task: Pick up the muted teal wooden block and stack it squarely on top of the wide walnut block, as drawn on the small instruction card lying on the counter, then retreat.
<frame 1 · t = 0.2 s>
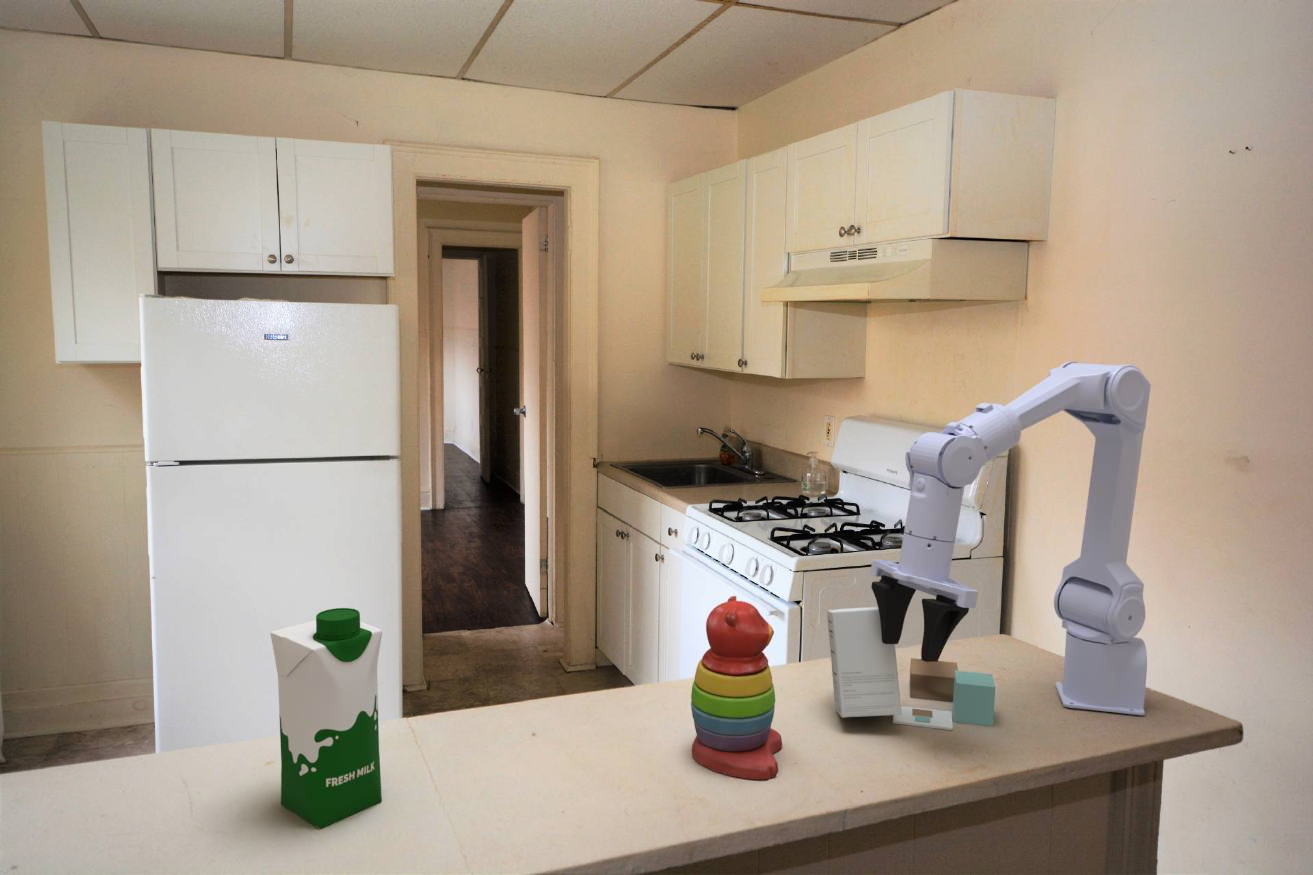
hand: (909, 651, 109), 11 cm above the counter, tool pointing down, fingers open, 6 cm apart
stacking bear: (734, 757, 106), on the counter
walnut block: (933, 693, 126), on the counter
instruction page: (922, 718, 117), on the counter
teal block: (972, 717, 118), on the counter
supplement box: (867, 714, 115), point 1 cm above the counter, touching gripper
milk carton: (331, 804, 95), on the counter
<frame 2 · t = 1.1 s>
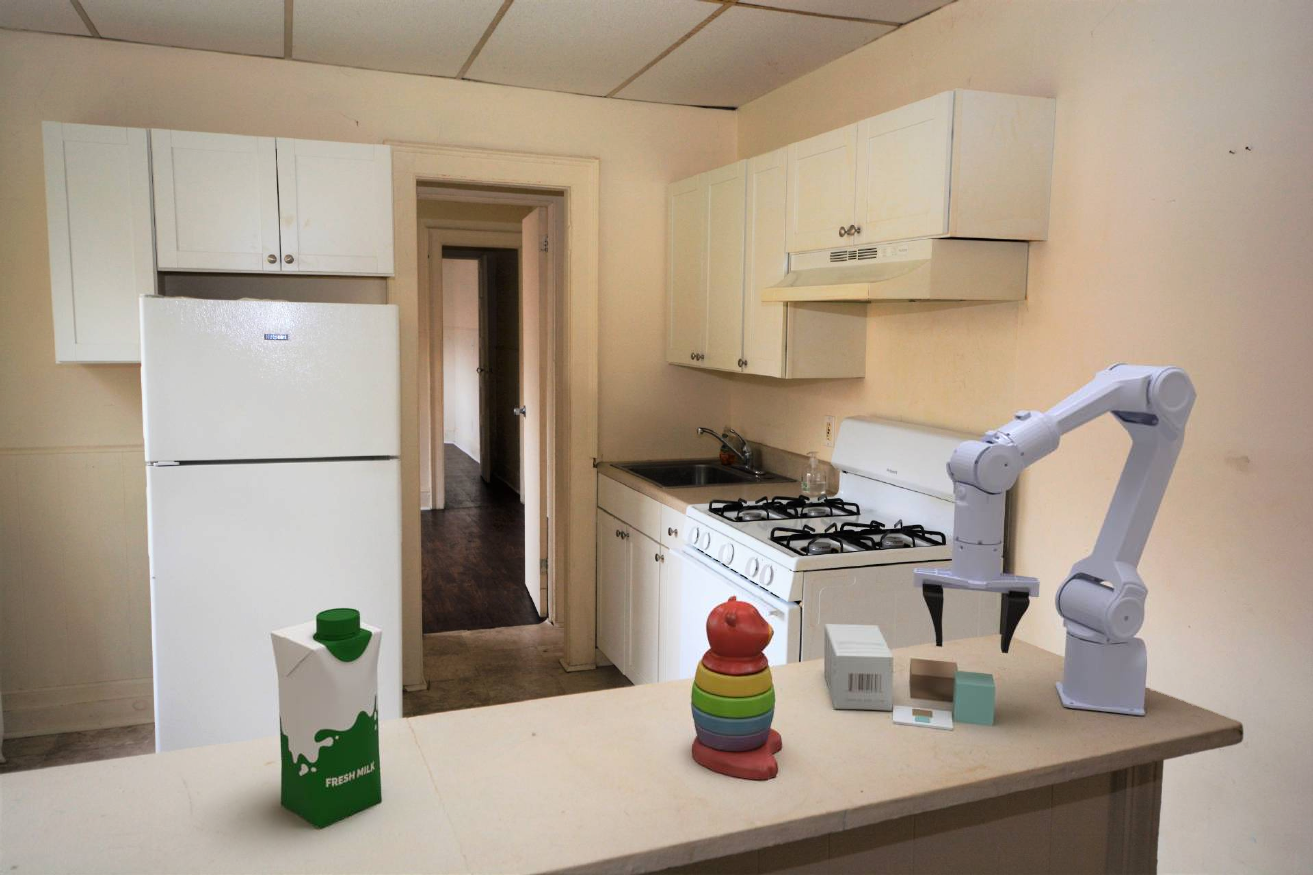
hand: (971, 647, 117), 9 cm above the counter, tool pointing down, fingers open, 7 cm apart
supplement box: (863, 684, 118), point 4 cm above the counter
everything else where it was.
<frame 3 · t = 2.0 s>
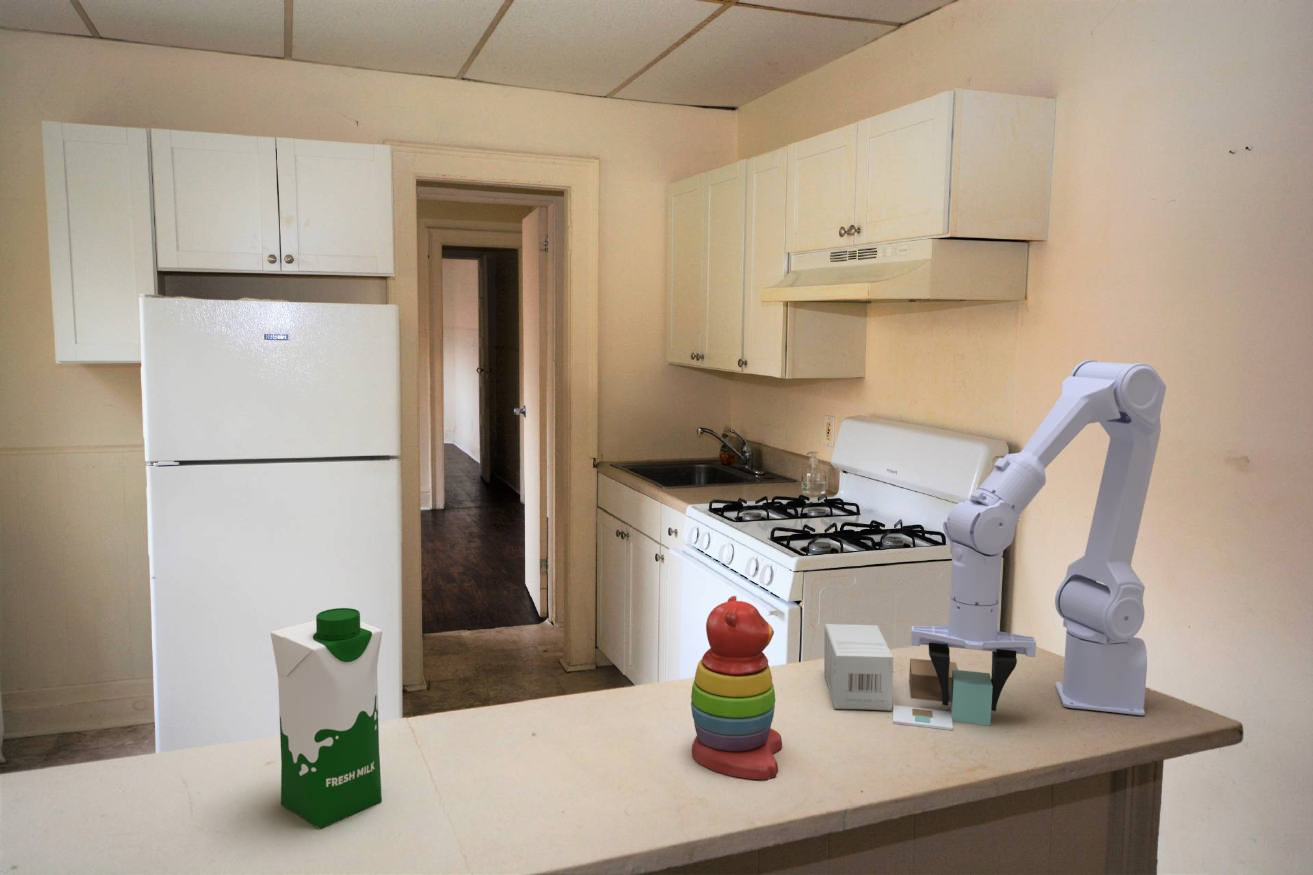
hand: (968, 705, 118), 1 cm above the counter, tool pointing down, fingers open, 5 cm apart
teal block: (969, 716, 118), on the counter, touching gripper, instruction page
everything else where it was.
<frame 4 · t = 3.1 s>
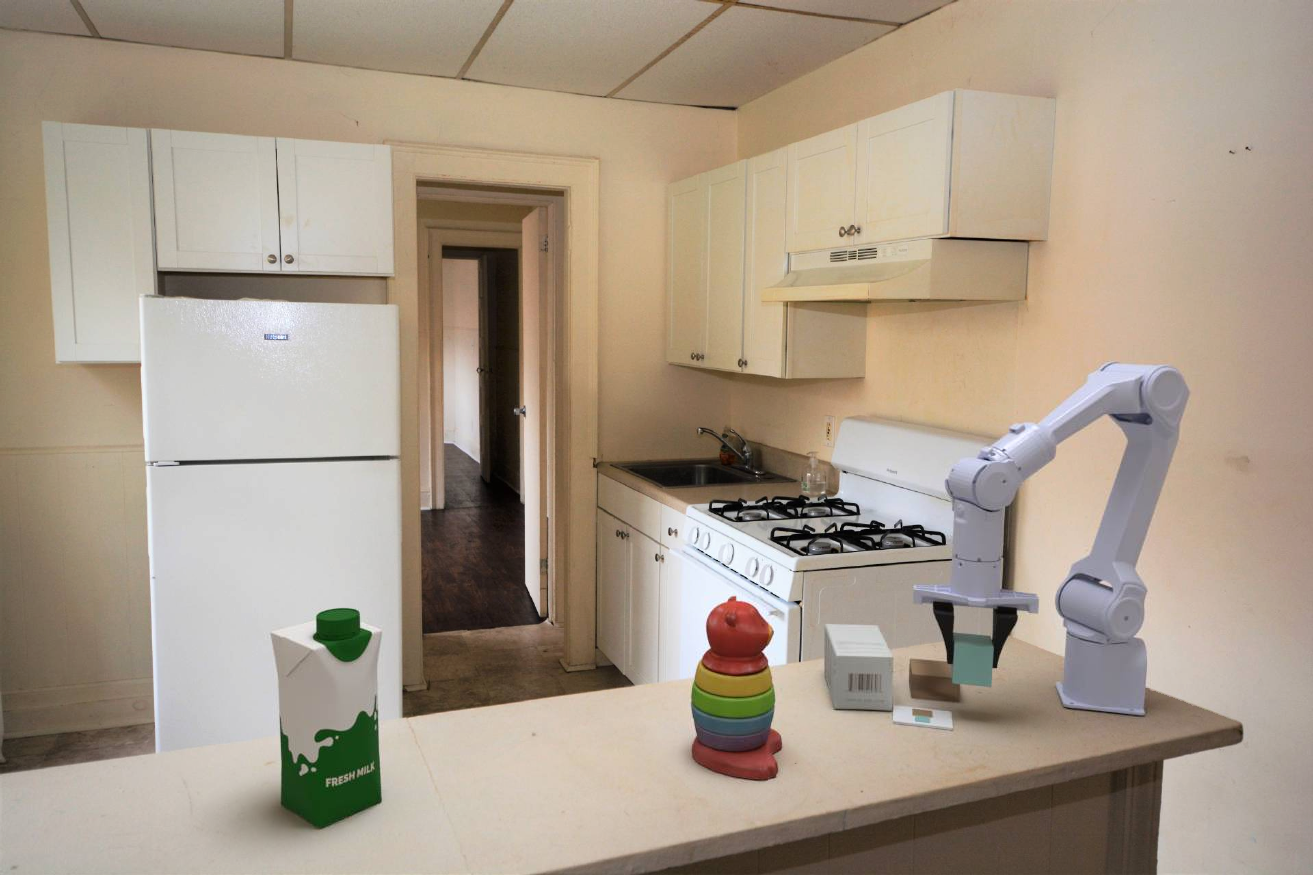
hand: (971, 663, 117), 7 cm above the counter, tool pointing down, fingers closed on teal block, 4 cm apart
teal block: (970, 678, 117), point 5 cm above the counter, touching gripper
everything else where it was.
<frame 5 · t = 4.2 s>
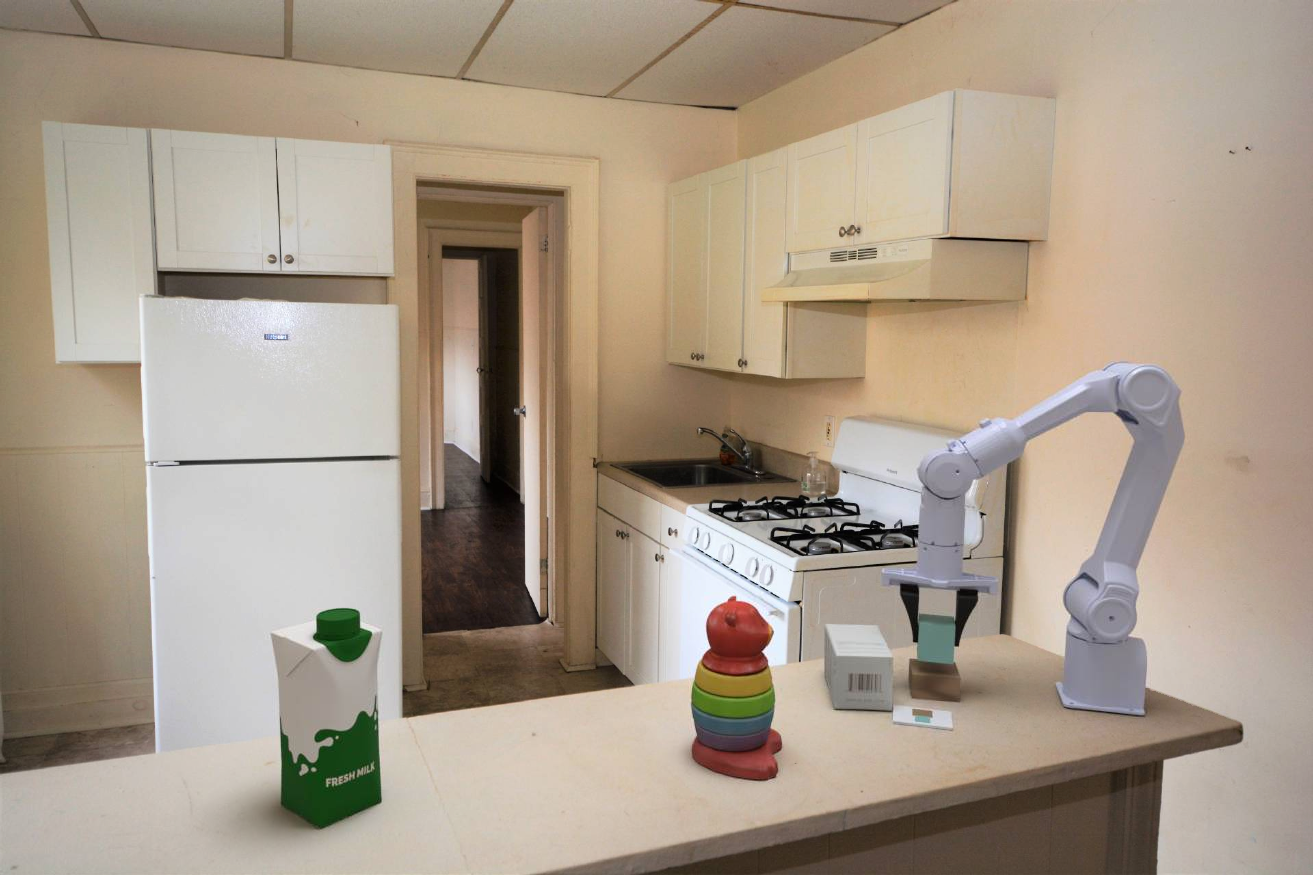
hand: (935, 642, 125), 7 cm above the counter, tool pointing down, fingers closed on teal block, 4 cm apart
teal block: (934, 656, 125), point 5 cm above the counter, touching gripper
everything else where it was.
when the fingers open (6 cm above the counter, at t = 4.8 s): teal block stays where it is, resting on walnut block.
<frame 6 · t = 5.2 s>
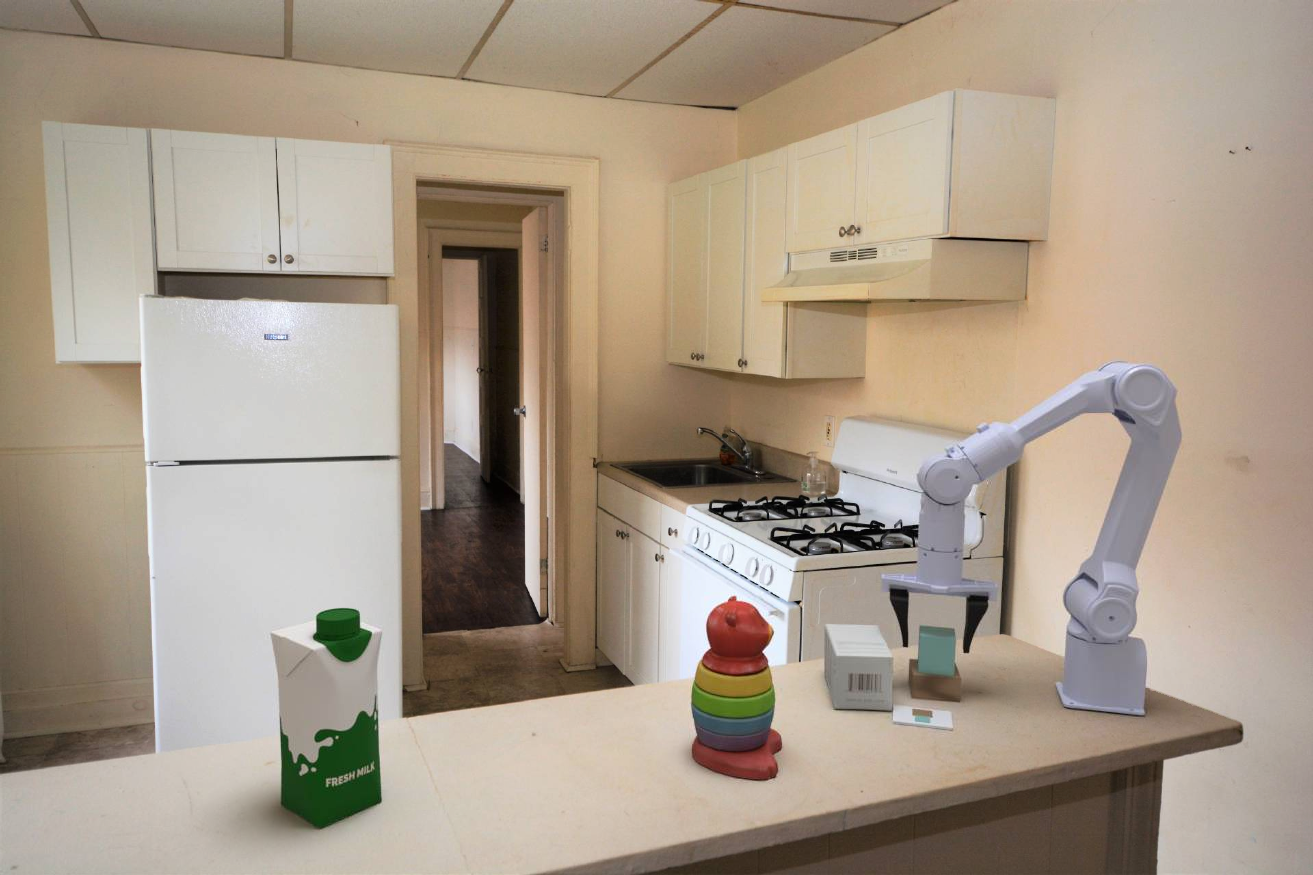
hand: (935, 647, 125), 6 cm above the counter, tool pointing down, fingers open, 7 cm apart
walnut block: (933, 693, 126), on the counter, touching teal block
teal block: (935, 668, 125), point 3 cm above the counter, touching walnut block
everything else where it was.
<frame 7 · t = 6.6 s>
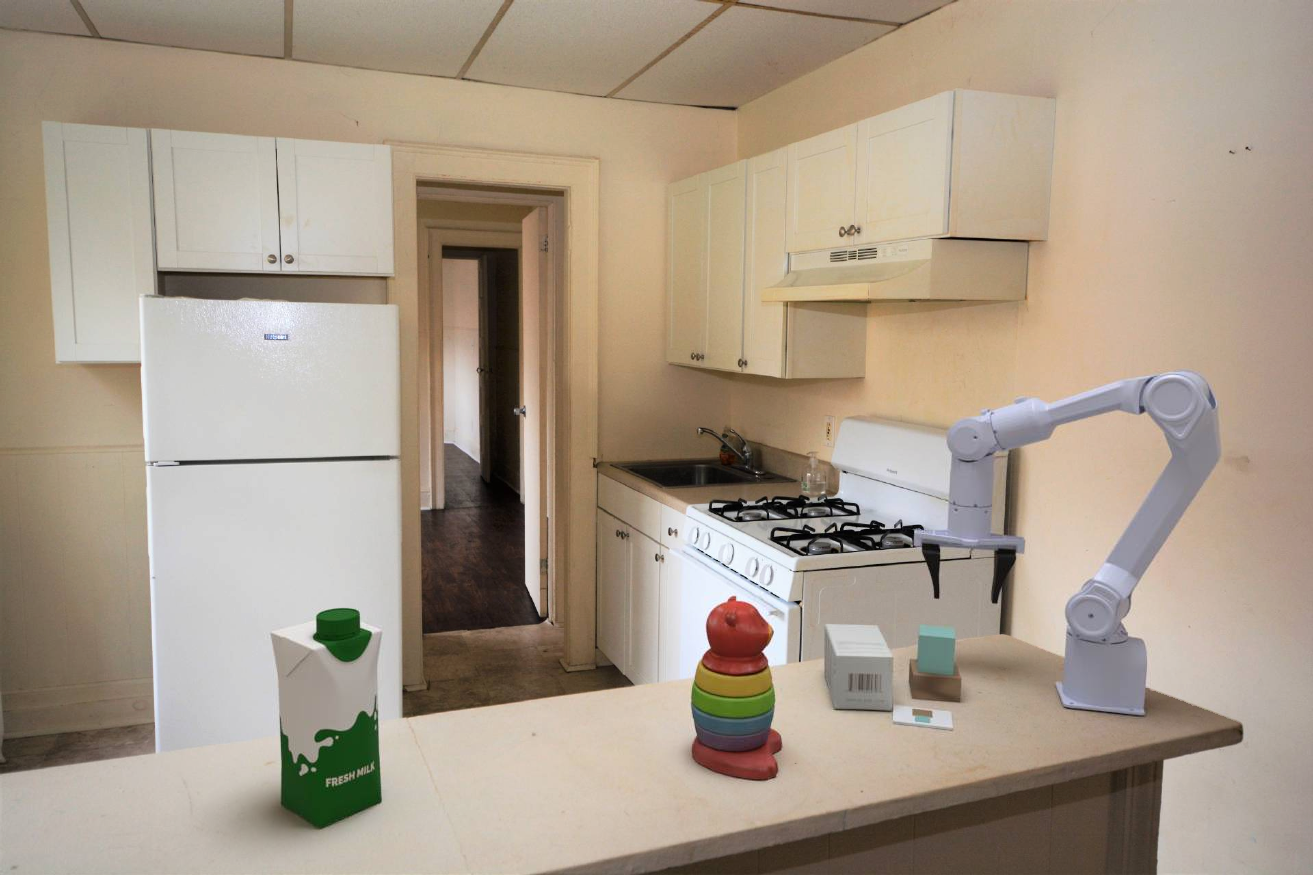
hand: (965, 599, 132), 10 cm above the counter, tool pointing down, fingers open, 7 cm apart
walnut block: (933, 693, 125), on the counter
teal block: (934, 667, 125), point 3 cm above the counter
everything else where it was.
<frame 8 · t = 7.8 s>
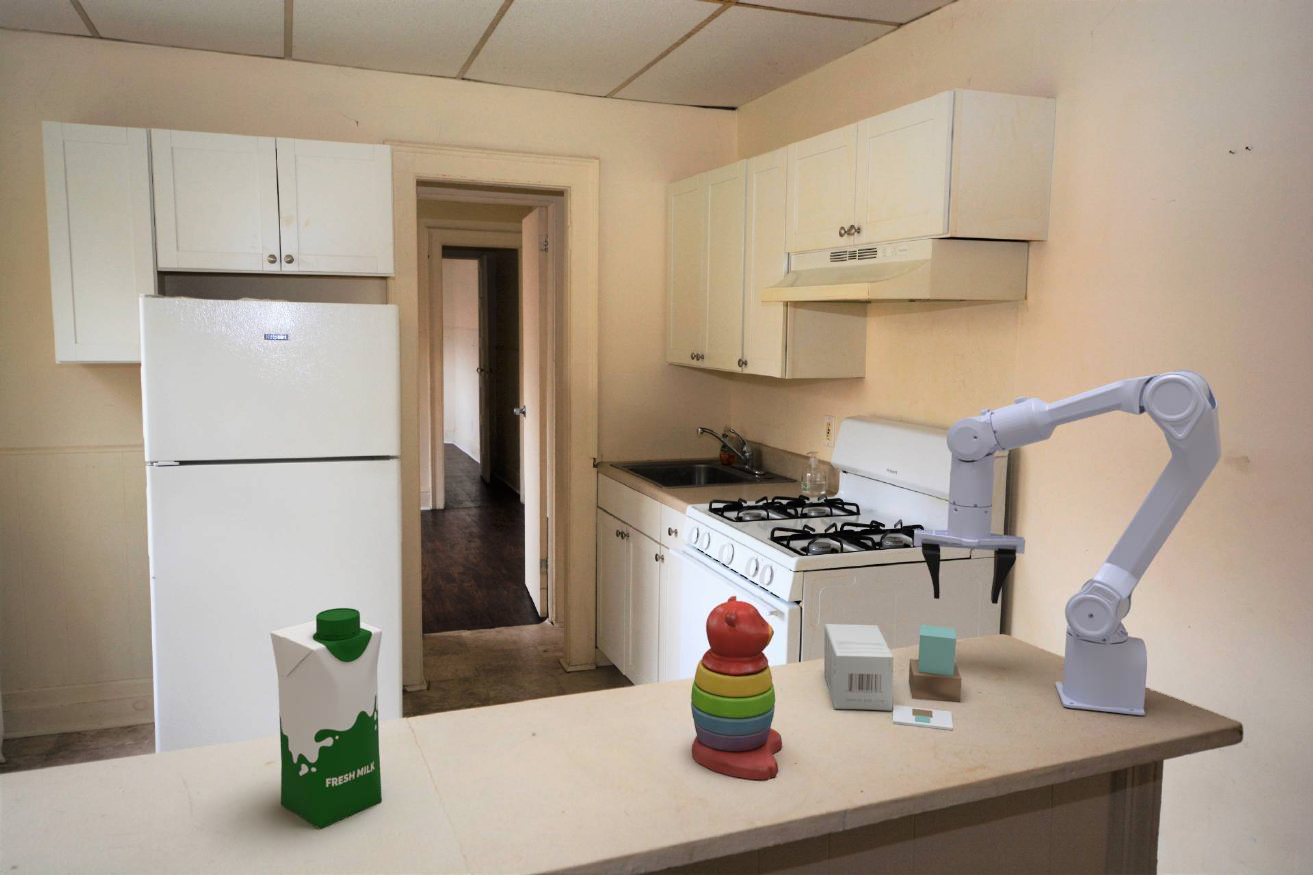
hand: (965, 599, 132), 10 cm above the counter, tool pointing down, fingers open, 7 cm apart
nothing on the counter moved.
at the end: teal block 0.1 cm off-centre on the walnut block, point 3.5 cm above the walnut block's base; teal block tilted 0°; the gripper is holding nothing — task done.
